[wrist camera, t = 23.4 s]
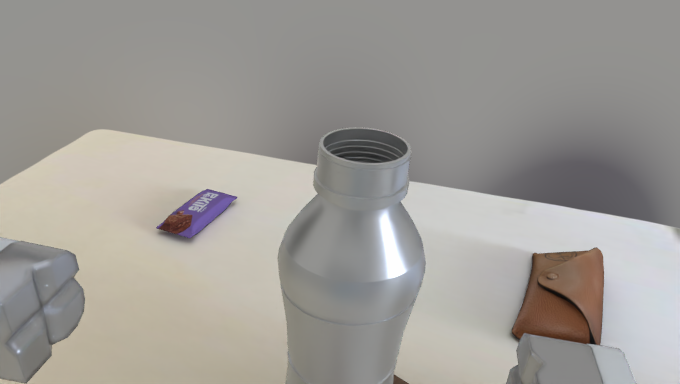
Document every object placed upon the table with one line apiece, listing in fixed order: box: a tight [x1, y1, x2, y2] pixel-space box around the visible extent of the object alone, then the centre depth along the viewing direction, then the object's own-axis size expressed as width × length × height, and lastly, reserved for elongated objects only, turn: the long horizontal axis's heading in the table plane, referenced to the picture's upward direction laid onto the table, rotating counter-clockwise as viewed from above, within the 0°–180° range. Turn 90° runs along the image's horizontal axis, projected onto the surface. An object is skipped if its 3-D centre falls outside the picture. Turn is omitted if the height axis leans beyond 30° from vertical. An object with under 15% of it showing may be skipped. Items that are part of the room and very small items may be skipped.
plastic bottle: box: [278, 127, 426, 384], centre depth 25 cm, size 6×7×20 cm
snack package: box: [156, 189, 237, 238], centre depth 70 cm, size 12×2×5 cm
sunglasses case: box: [512, 248, 604, 345], centre depth 60 cm, size 18×7×7 cm
